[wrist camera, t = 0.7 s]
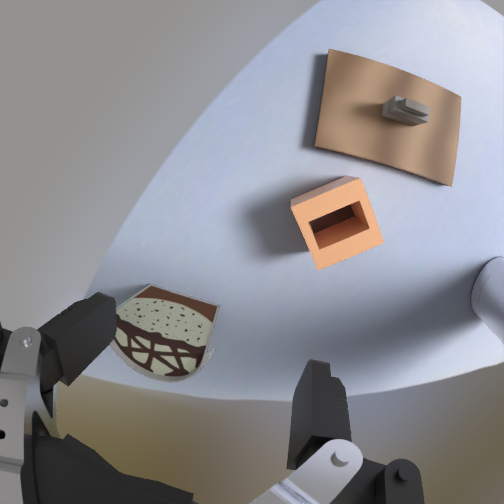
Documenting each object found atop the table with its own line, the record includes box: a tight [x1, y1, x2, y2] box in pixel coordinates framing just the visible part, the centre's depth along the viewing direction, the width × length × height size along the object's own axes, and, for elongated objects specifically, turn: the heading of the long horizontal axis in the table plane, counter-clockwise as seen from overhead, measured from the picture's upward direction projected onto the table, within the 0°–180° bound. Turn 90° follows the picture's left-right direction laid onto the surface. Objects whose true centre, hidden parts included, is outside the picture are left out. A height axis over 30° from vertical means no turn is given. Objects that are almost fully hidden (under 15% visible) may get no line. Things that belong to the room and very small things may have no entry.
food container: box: [110, 284, 220, 382], centre depth 30 cm, size 12×6×10 cm, turn 77°
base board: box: [314, 49, 461, 187], centre depth 21 cm, size 16×11×6 cm
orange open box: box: [291, 176, 384, 270], centre depth 25 cm, size 6×6×6 cm
